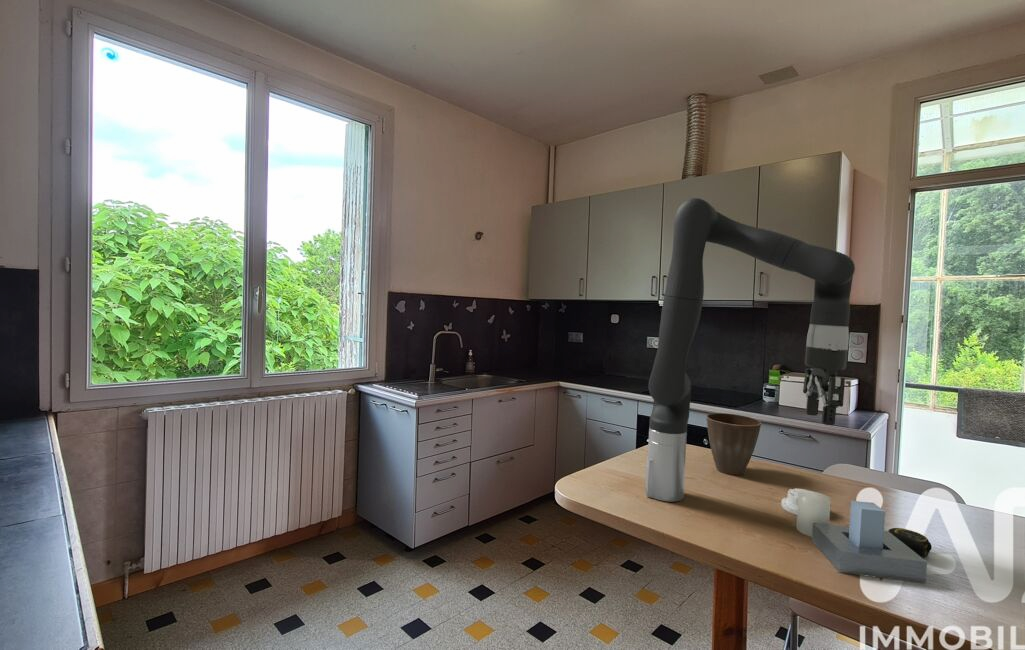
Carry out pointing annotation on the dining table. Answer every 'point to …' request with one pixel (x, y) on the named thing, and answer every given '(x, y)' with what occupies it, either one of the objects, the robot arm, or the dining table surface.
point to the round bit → (812, 511)
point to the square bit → (866, 525)
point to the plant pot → (732, 441)
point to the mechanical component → (791, 501)
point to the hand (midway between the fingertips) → (819, 419)
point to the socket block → (869, 555)
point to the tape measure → (913, 540)
